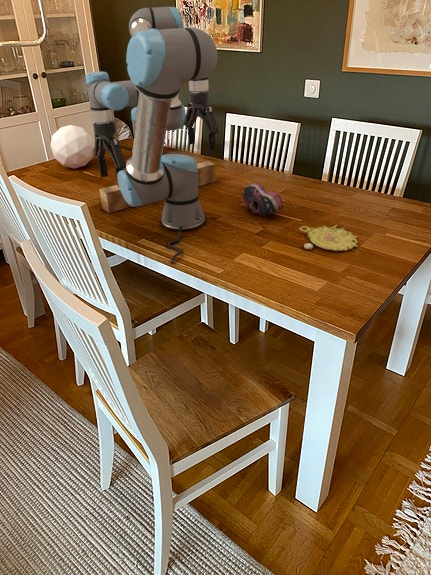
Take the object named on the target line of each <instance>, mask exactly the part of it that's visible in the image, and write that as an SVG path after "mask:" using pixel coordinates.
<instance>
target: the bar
mask: <svg viewBox="0 0 431 575" xmlns="http://www.w3.org/2000/svg"><path fill="white" fill-rule="evenodd" d="M197 169H198V187H202V186H206V185H209V184H212V183H215V182H216V180H217V179H216V163H213V162H211V161H208V160H205V161H203V162H197ZM98 192H99V197H100V202H101V207H102V210H104V211H105V212H107V213H109V214H111V213H114V212H117V211H121V210H124V209H128V208H131V207H132V206H130V205H129V204H128V203H127V202H126V201H125V199H124V197H123V195H122V193H121V190H120V187H118V184H114V185H111V186H107V187H103V188H99V191H98Z"/></svg>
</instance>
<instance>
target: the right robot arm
mask: <svg viewBox="0 0 431 575" xmlns="http://www.w3.org/2000/svg"><path fill="white" fill-rule="evenodd" d="M125 61H126V64H127V67H126V68H127V69H126V70H127V74H128V76H129V79H130V80H119V81H111V80H110V77H109V73H108V72H106V71H91V72H87V73H86V74H85V82H86V83H85V86H86V91H87V97H88V101H89V108H90V116H91V122H93V123H92V126H93V132H94V134H93V135H94V150H93V157H94V158H96V160H97V162H98V169H99V175H100V178H102V179H103V178H106V177H109V172H108V167H107V160H106V158H107V157H106V153H109V155H110V157H111V159H112V162H113V164H114V166H115V168H114V171H115V176H116V183H117V184H116V185H118V187H120V190H121V193H122V195H123V197H124V199H125V201H126V202H127V203H128V204H129V205H130V206H131V207H132V208H134V207H142V206H145V205H149V204H153V203H156V202H159V201H163V200H164V204H163V209H162V213H161V219H160V220H161V225H162V227H163V228H165V229H167V230H170V231H175V232H176V231H177V232H178V233H177V234H178V236H177V238H176V239H174V240H172V241H169V242H168V243H167V246H168V248H170V249H173V250H177V251H178V252H176V253H175V254H174V255H173V256H172V257H171V261H170V265H174V261H175V259H176V257H178V256H179V255H181V254H182V249H181V247H178V246H174V245H172V244H175V243H178V242H179V241H180V240H181V237H182V235H181V234H182V232H185V231H186V232H187V231H192V230H195V229H198V228H201V227H202V226H203V225H204V224H205V223H206V217H205V212H204V210H203V208H202V204H201V202H200V196H199V186H198V169H197V164H198V162H197V160H196V159H195V158H194V157H192V156H191V155H190V156H189V155H187V154H186V155H185V154H178V153H176V154H175V153H169V154H163V152H164V146H165V140H166V134H167V131H166V129H167V124H168V118H169V112H170V107H171V101H172V99H173V98H175V97H176V96H177V95H178V96H179V94H180V90H181V86H183V85H185V84H188V83H189V81H198V80H201V79H202V78H204V77H206V76H208V77H209V76H210V75H211V73H213V71H214V70H215V68H216V65H217V62H218V49H217V46H216V43H215V41H214V39H213V38H212V37H211V35H209V34H208V32H206V31H204V30H202V29H200V28H197V27H184V28H176V29H161V30H157V29H149V30H146V31H139V32H137V33H136V34H134V35H133V37H132V36H131V37H130V39H129V42H128V44H127V48H126V59H125ZM134 106H136V107H137V106H138V107H137V116H136V125H135V135H134V134H133V145H132V148H133V153H132V152H131V153H132V155H131V157H129V158H128V159H127V161H125V158H124V154H123V152H122V148H121V146H120V145H121V144H120V140H119V138H114V134H116V133H117V127H116V126H117V125H116V122H115V111H122V110H123V109H125V108H126V107H134Z"/></svg>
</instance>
